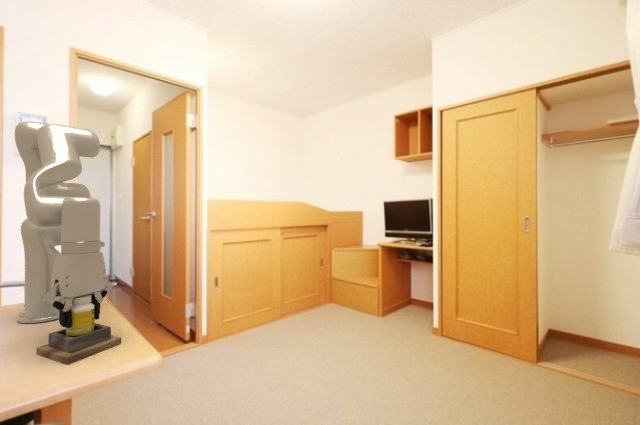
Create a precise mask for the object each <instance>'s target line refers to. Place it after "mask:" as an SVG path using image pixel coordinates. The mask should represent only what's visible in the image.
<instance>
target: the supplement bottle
mask: <svg viewBox="0 0 640 425" xmlns="http://www.w3.org/2000/svg"><path fill="white" fill-rule="evenodd" d="M90 302H91V294H87V295H83V296H79V297H74V298H73V300H72V303H71V305H70V308H69V310H71V311H72V327H71V328H65V329H66V336H69V337H72V338H75V337H78V336H81V335H84V334H87V333H90V332H93V331H94V323H95V319H94V310H95V307H94V304H93V303H90Z"/></svg>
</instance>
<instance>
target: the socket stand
mask: <svg viewBox="0 0 640 425" xmlns="http://www.w3.org/2000/svg"><path fill="white" fill-rule="evenodd" d="M121 344H122V337H120V336H117V335H113V334H112V327H111V326H109V325H104V324H100V323H96V322H94V331H93V332H90V333H87V334H84V335H81V336H78V337H75V338H72V337H69V336H66V328H64V329H61V330H57V331H54V332H50V333H48V343H47V344H44V345H41V346H38V347H36V355H37V356H41V357H43V358H46V359H49V360H52V361H55V362H58V363H60V364H63V365H67V366H69V365H71V364H74V363H76V362H78V361H81V360H83V359H87V358H88V357H91V356H94V355H96V354H98V353H101V352H103V351H106V350H109V349H111V348H114V347H116V346H119V345H121Z"/></svg>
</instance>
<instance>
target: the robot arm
mask: <svg viewBox="0 0 640 425" xmlns="http://www.w3.org/2000/svg"><path fill="white" fill-rule="evenodd" d="M14 141H15V145H16V150H17V151H18V153H19V155H20V158H21V160H22V162H23V165H24V168H25V184H24V188H23V201H24V208H25V214H26V219H24V220H23V221H22V222H21V225H20V235H21V239H22V244H23V254H24V305H23V307H24V313H22V314H20V315H19V316H17V319H16V320H17V322H18V323H22V324H39V323H44V322H51V321H55V320H59V325H60V326H61V328H62V327H63V328H64V329H66V328H71V327H72V311H71V310H69V308H70V306H71V305H72V304H71V303H72V300H73V298H74V297H79V296H83V295H87V294H91V301H90V303H93V304H94V307H95V310H94V320H99V319H100V314H101V303H102V302H103V301H104V298H105V297H106V296H107V294H108V292H110V290H112V289H113V287H114V284H113V283H112V282H111V281H110V279H108V278H107V269H106V262H105V257H104V255H103V254H104V253H103V252H102V251H101V248H104V247H105V245H106V243H105V242H104V241H102V240H101V202H100V201H99V199H98V198H96V197H95V198H94V197H91V192H90V190H89V188H88V186H86V185H84V184H81V183H75V182H68V181H71V180H74V179H76V178H77V177H79V176H80V174H82V172H83V166H82V163H81V162H82V161H81V158H91V159H93V158H96V157H97V156H98V155H99V152H100V149H101V143H100V139H99V136H98V135H97V134H96V132H94V131H93V130H91V129H87V128H82V127H75V126H70V125H69V126H68V125H66V124H65V125H64V124H59V123H58V124H56V123H45V122H40V121H39V122H38V121H22V122H19V123H17V124H16V126H15V128H14ZM80 157H81V158H80ZM57 246H60V250H57V248H56V247H57Z"/></svg>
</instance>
